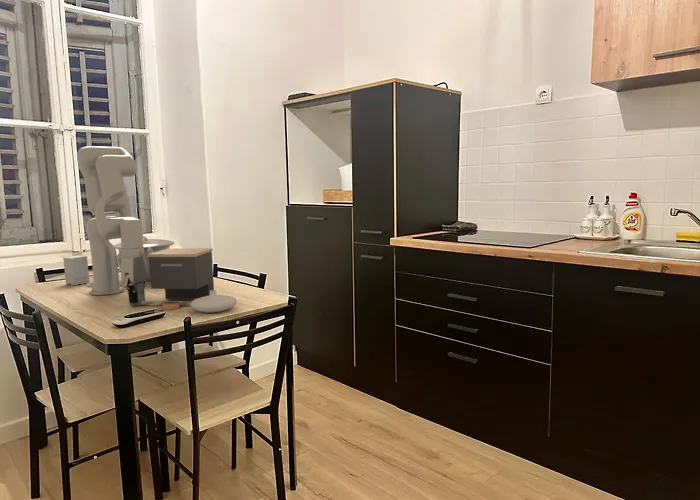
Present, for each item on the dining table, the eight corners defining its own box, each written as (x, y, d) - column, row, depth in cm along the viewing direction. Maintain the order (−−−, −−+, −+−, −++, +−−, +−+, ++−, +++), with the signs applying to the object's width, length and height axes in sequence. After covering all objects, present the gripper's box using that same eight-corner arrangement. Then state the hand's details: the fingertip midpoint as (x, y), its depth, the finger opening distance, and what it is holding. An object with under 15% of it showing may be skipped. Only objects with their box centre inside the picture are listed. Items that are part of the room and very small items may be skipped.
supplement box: (90, 282, 231) (87, 255, 229) (74, 285, 225) (71, 258, 223) (81, 281, 235) (78, 255, 233) (65, 284, 229) (62, 257, 227)
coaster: (159, 311, 177) (158, 305, 177) (166, 307, 183) (166, 301, 183) (175, 311, 177) (175, 305, 176) (182, 307, 183) (182, 301, 182)
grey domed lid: (193, 318, 166) (192, 297, 165) (188, 308, 180) (187, 288, 179) (241, 312, 172) (240, 292, 171) (232, 302, 187) (231, 284, 186)
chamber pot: (136, 273, 254) (132, 232, 251) (187, 273, 250) (184, 232, 248) (101, 284, 227) (97, 239, 224) (158, 284, 223) (154, 238, 220)
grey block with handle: (129, 305, 184) (127, 284, 183) (135, 302, 188) (133, 282, 187) (188, 306, 181) (187, 284, 180) (193, 303, 185) (191, 282, 184)
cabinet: (150, 304, 186) (146, 254, 183) (171, 295, 201) (168, 248, 199) (198, 305, 183) (194, 254, 181) (215, 295, 199) (212, 248, 196)
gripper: (136, 249, 192) (140, 296, 194) (109, 255, 175) (114, 306, 178) (154, 249, 191) (158, 296, 193) (129, 255, 174) (134, 307, 177)
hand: (137, 300), depth 185 cm, fingers closed on grey block with handle, 3 cm apart
